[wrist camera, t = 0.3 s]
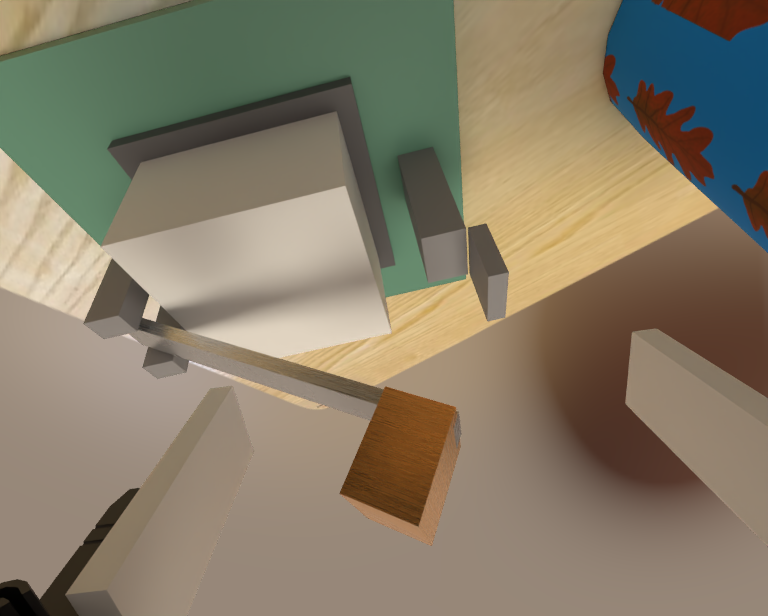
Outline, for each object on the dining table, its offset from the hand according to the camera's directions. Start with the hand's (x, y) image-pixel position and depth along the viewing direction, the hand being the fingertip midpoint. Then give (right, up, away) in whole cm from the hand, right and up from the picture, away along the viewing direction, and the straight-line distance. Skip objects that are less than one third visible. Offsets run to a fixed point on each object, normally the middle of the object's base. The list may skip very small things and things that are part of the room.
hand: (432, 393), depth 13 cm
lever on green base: (-8, +10, +11) cm, 17 cm away
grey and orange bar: (-6, +1, +4) cm, 7 cm away
